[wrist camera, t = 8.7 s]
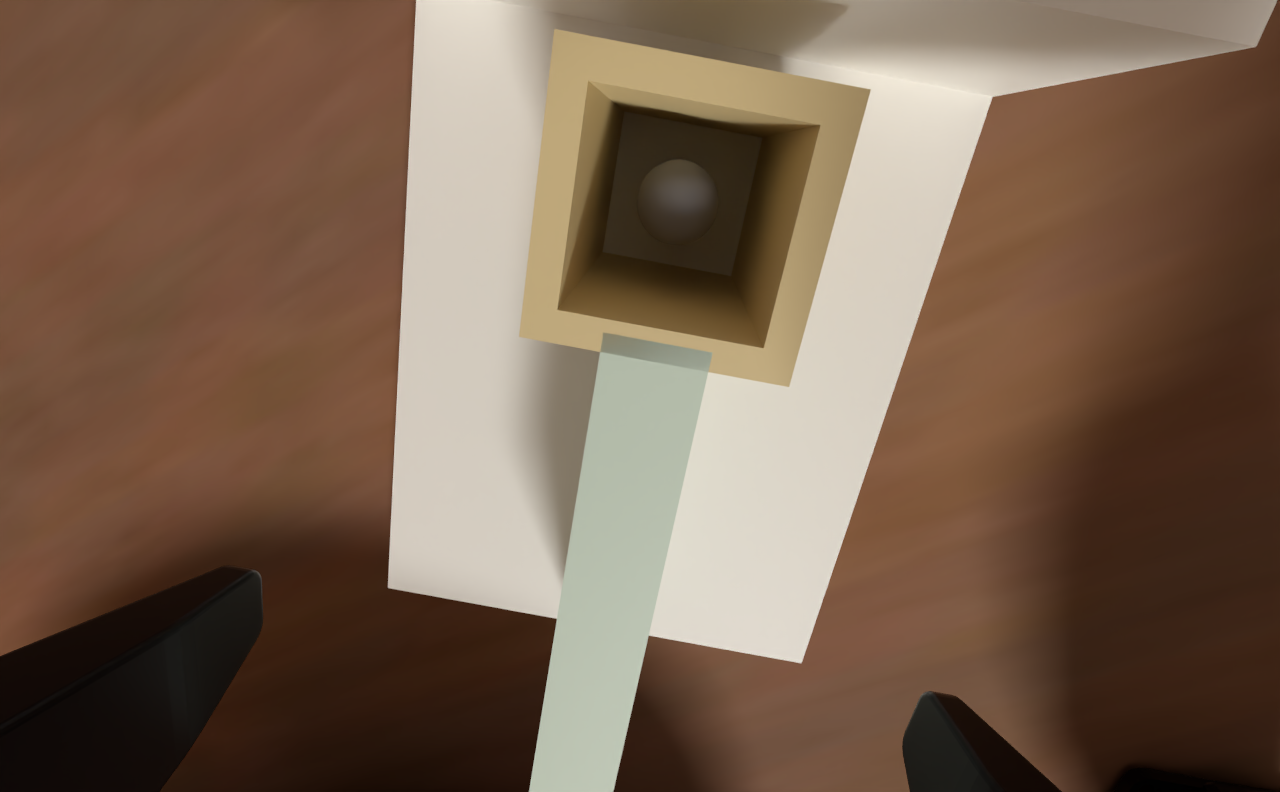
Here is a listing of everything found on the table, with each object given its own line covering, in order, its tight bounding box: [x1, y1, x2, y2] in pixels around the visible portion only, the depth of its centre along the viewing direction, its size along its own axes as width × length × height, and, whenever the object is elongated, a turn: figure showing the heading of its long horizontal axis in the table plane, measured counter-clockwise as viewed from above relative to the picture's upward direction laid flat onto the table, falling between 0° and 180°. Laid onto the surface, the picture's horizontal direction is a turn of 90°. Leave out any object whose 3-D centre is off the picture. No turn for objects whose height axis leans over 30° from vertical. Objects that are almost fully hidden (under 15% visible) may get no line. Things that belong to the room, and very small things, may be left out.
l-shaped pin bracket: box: [388, 0, 1277, 663], centre depth 13 cm, size 17×12×8 cm
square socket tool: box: [519, 29, 871, 792], centre depth 13 cm, size 14×4×6 cm, turn 170°
